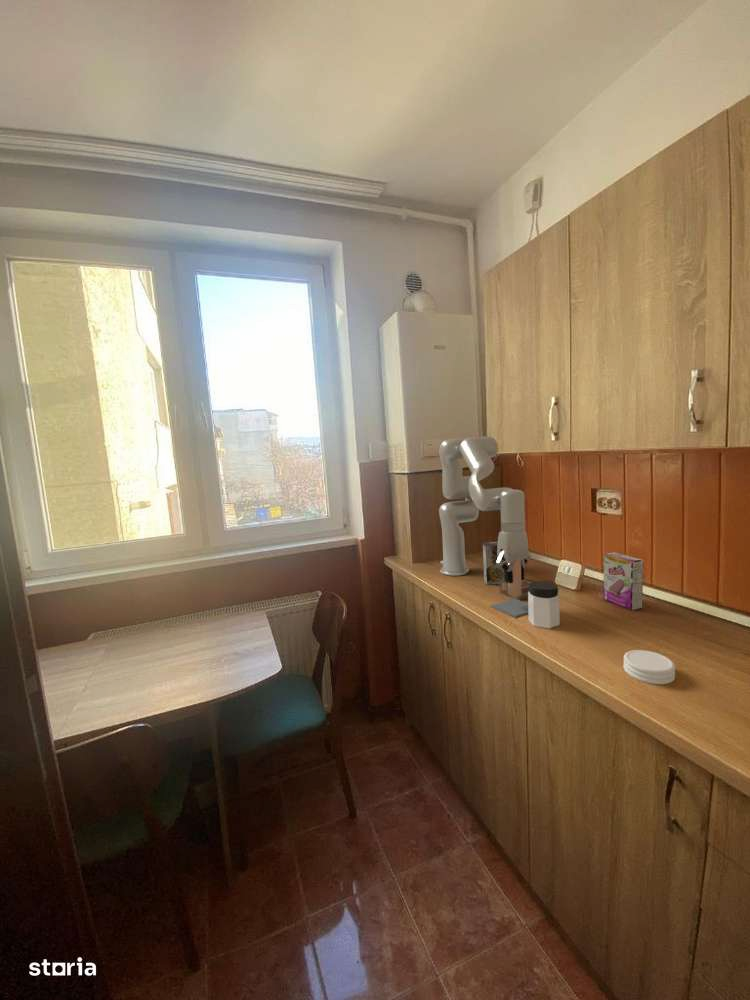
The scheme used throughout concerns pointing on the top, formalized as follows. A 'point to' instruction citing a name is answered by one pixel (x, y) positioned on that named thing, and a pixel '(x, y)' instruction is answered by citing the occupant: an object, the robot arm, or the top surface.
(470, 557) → the top surface
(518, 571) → the peg
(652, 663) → the coaster
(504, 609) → the mat
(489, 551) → the coffee box
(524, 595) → the brown square box
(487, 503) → the robot arm
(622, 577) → the candy bar box
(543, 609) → the jar
